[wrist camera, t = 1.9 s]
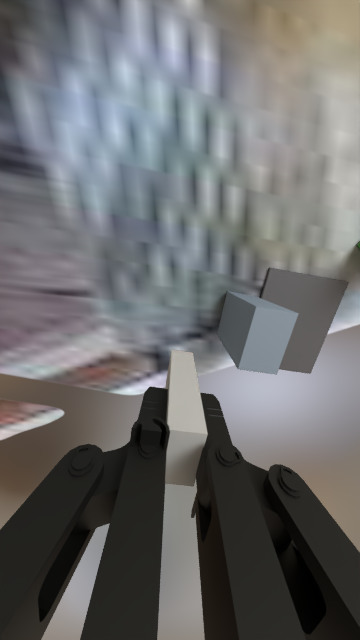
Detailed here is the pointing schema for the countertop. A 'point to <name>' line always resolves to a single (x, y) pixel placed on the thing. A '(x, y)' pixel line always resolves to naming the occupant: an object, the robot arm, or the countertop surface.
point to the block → (255, 332)
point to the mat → (304, 312)
